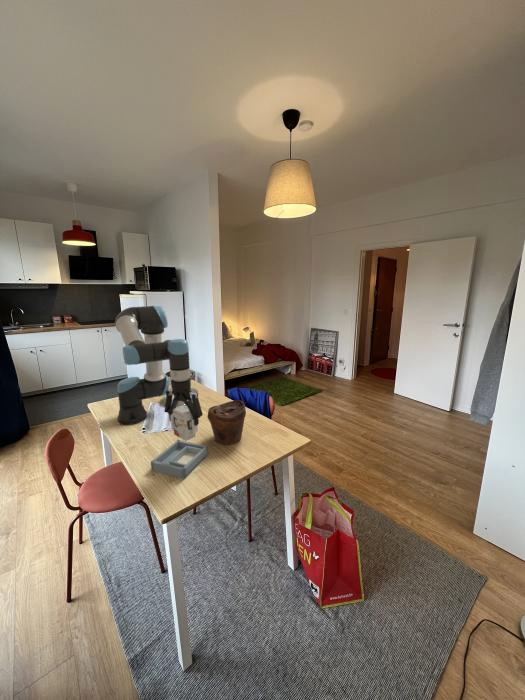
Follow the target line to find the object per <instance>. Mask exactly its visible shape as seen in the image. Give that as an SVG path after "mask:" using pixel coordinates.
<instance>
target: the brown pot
mask: <svg viewBox="0 0 525 700" xmlns="http://www.w3.org/2000/svg"><path fill="white" fill-rule="evenodd" d="M246 415H247V411H246V405H245V402H244V401H242V400H240V399H235V400H234V399H233V400H231V401H227V402H225V403H221V404H219V405H214V406H211V407H209V408H208V411H207V419H208V421H209V423H210V426H211V431H212V432H213V436H214V441H215V442H216V443H217V444H220V445H223V446H224V445H233V444H235V443H238V442H239V441H240V440H241V438H242V436H243V432H244V431H243V430H244V429H243V428H244V423H245V419H246Z"/></svg>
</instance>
